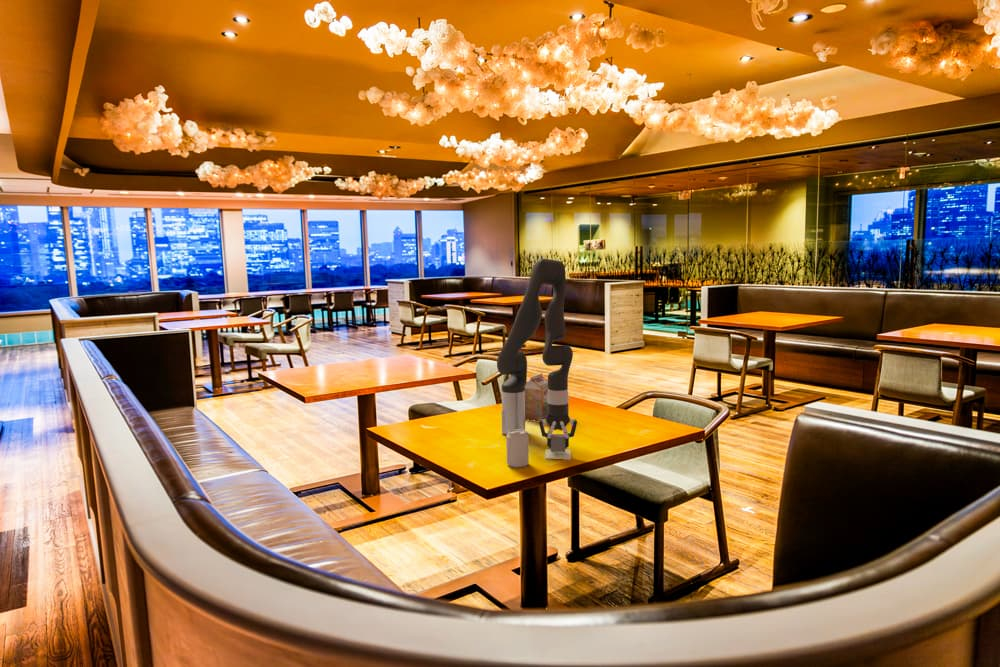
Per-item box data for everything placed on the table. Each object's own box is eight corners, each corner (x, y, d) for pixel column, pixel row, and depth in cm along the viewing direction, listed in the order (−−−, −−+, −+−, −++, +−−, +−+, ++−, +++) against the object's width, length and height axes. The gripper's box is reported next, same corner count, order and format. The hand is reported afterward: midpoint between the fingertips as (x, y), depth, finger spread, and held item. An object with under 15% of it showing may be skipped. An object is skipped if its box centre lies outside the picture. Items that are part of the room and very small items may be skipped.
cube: (551, 451, 227) (550, 438, 227) (550, 447, 232) (550, 434, 232) (565, 451, 227) (565, 438, 226) (564, 447, 232) (564, 434, 231)
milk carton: (541, 422, 275) (541, 378, 272) (520, 418, 280) (519, 376, 278) (553, 416, 284) (552, 374, 281) (532, 413, 289) (531, 371, 287)
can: (503, 467, 219) (503, 432, 217) (511, 460, 226) (510, 427, 224) (524, 469, 216) (524, 434, 215) (531, 462, 223) (531, 428, 222)
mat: (545, 459, 226) (545, 457, 226) (545, 451, 235) (545, 449, 235) (571, 459, 225) (571, 457, 225) (570, 451, 234) (570, 449, 234)
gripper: (537, 403, 224) (537, 451, 226) (578, 403, 223) (578, 451, 225) (537, 398, 232) (537, 444, 234) (577, 398, 231) (577, 444, 233)
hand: (558, 447), depth 230 cm, fingers closed on cube, 5 cm apart
